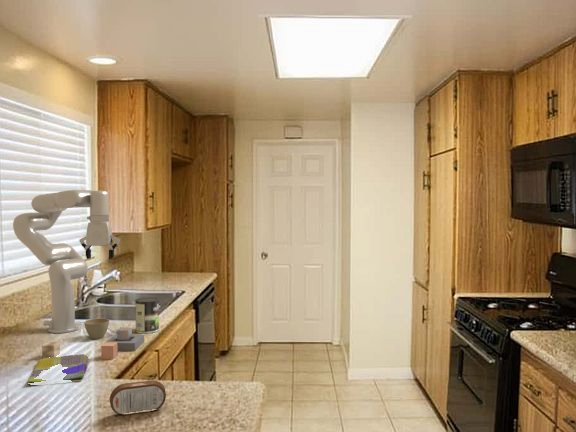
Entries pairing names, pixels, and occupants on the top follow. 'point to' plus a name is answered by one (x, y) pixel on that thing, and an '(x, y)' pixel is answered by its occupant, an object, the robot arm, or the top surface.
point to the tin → (137, 396)
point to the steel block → (124, 334)
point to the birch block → (50, 349)
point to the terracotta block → (109, 350)
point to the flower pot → (96, 327)
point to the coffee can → (147, 315)
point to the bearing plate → (128, 343)
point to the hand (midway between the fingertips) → (99, 258)
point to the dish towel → (73, 362)
